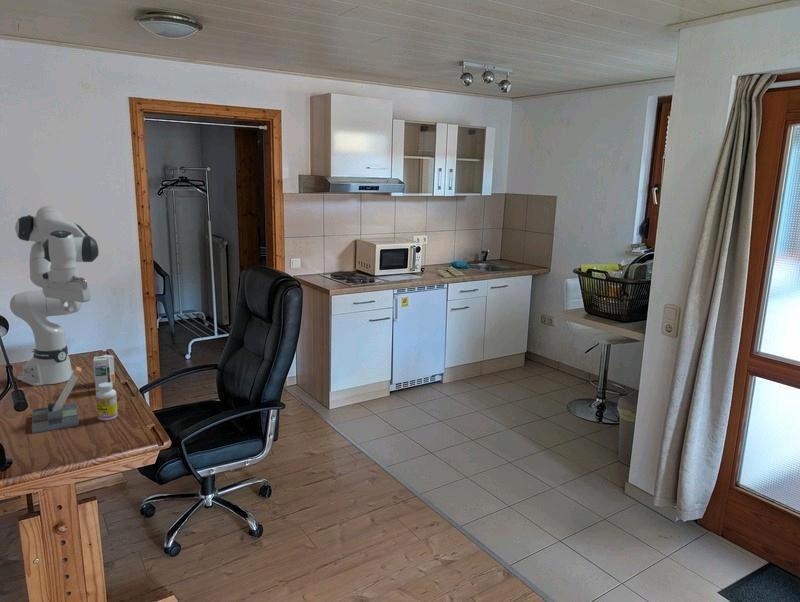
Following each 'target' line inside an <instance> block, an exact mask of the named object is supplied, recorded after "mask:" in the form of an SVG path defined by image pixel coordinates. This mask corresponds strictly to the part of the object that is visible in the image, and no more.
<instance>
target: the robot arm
mask: <svg viewBox="0 0 800 602" xmlns="http://www.w3.org/2000/svg"><path fill="white" fill-rule="evenodd" d="M14 230H15V233H16V236H17V238H18V239H19V240H21V241H23V242H24V241H25V242H34V243H33V244H32V246H31V249H30V253H29V278H30V281H31V282H32V284H34V285H35V286H37V287H39V288H42V290H33V291H32V290H29V291H28V290H27V291H24V292H19V293H16V294H13V295H12V297H11V299H10V301H9V308H10V311H11V312H12V314H13V315H14V316H16V317H17V318H19V319H21V320H23V321H24V322H25V323H27V325H28V326H29V327H30V329H31V331H32V333H33V334H32V335H33V337H34V344H35V345H34V346H35V348H33V349H32V350H31V353H33V356H32V358H30V359H29V360H28V361H27V362H25V363H24V364H23V365H22V374H19V375H17V376H16V380H18V381H20V380H21V382H23V383H25V384H28V385H31V386H36V387H37V386H42V385H43V386H44V385H54V384H60V383H65V382H68V380H69V379H70V377H71V375H72V373H73V371H74V369H72V364H71V360H70V356H69V355H68V354H69V352H68V351H69V350H68V346H67V342H66V332H65V328H64V327H63V326H61V325H59V324H57V323H54V322H51V321H49V320H48V319H47V318H48V317H54V316H55V317H56V316H68V315H72V314H75V313H78V312H79V311H80V310H81V308H82V305H83V303H87V302H90V301H91V299H92V298H91V297H92V296H91V291H90V286H89V283H88V281H87V280H86V279H85V278H84V277H82V276H81V277H80V276H79V267H78V266H79V265H78V263H92V262H94V261H95V260H96V259H97V258H98V256H99V252H100V251H99V249H100V248H99V245H98V243H97V241H96V239H95V238H93V237H92V236H90V235H89V234H88V233H87V231H86V230H84V229H83V228H82V227H81V226H80V225H79V224H77V223H76V222H73V221H70V220H68V219H67V218H66V217H65V215H64V214H63V212H62V211H61V210H60V209H58V208H57V207H55V206H53V205H44V206H42V207H40V208H38V210H37V211H36V214H35V215H34V216H32V215H31V214H28V215H25V216H21V217H19V218H18V219H17V221H16V223H15V226H14Z"/></svg>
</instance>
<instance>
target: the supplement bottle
mask: <svg viewBox="0 0 800 602" xmlns="http://www.w3.org/2000/svg"><path fill="white" fill-rule="evenodd" d="M98 388H99V391H98V392H97V393H96V392H95V400H96V415H97V419H98V420H100V421H111V420H113V419H116V418H117V417H118V400H117V399H118V398H117V391H116V390H115V389H114V383H110V382H106V383H101V384H99V385H98Z"/></svg>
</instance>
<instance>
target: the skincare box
mask: <svg viewBox="0 0 800 602" xmlns="http://www.w3.org/2000/svg"><path fill="white" fill-rule="evenodd" d="M102 356H109V357H110V369H111V383H112V384H114V383H115V382H116V378H115V377H116V376H115V375H116V374H115V360H114V359H115V358H114V355H112V354H104V355H102Z"/></svg>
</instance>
